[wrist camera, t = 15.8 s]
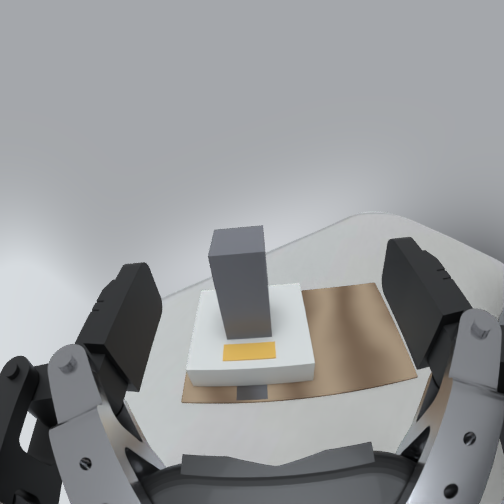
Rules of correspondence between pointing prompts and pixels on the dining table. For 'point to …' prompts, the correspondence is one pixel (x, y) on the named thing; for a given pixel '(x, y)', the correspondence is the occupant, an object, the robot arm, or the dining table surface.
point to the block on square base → (248, 319)
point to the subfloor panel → (332, 351)
